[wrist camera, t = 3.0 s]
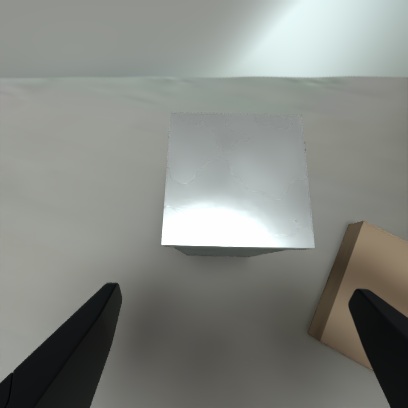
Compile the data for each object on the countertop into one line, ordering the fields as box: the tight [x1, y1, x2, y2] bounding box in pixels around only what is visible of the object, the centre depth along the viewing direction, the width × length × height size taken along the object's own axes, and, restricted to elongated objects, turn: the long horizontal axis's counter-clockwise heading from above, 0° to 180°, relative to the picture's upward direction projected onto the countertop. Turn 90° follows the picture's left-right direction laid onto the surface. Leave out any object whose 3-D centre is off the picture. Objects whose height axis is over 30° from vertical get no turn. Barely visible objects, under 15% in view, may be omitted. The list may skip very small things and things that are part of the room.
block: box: [308, 221, 408, 371], centre depth 18 cm, size 10×10×2 cm
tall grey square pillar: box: [162, 113, 315, 257], centre depth 15 cm, size 6×6×12 cm
